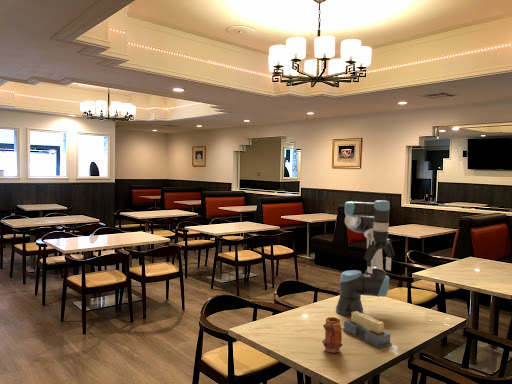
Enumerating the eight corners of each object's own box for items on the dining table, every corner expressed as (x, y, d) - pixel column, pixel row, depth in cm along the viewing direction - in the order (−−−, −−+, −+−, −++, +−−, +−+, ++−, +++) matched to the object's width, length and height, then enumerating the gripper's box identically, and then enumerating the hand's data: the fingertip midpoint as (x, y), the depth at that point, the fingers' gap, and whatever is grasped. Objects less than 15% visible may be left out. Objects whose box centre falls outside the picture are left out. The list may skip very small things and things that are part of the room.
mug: (320, 346, 189) (321, 313, 188) (337, 345, 190) (339, 313, 189) (328, 361, 174) (330, 326, 173) (347, 360, 175) (348, 326, 174)
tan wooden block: (350, 329, 206) (351, 312, 206) (355, 328, 208) (356, 311, 208) (377, 343, 191) (378, 324, 191) (383, 341, 193) (383, 322, 193)
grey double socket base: (342, 330, 208) (343, 320, 208) (354, 327, 212) (354, 317, 212) (379, 348, 188) (380, 338, 187) (391, 345, 192) (392, 334, 191)
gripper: (369, 233, 202) (367, 275, 204) (403, 230, 215) (401, 270, 217) (357, 230, 209) (356, 272, 210) (391, 228, 222) (389, 267, 223)
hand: (379, 271), depth 213 cm, fingers open, 13 cm apart
